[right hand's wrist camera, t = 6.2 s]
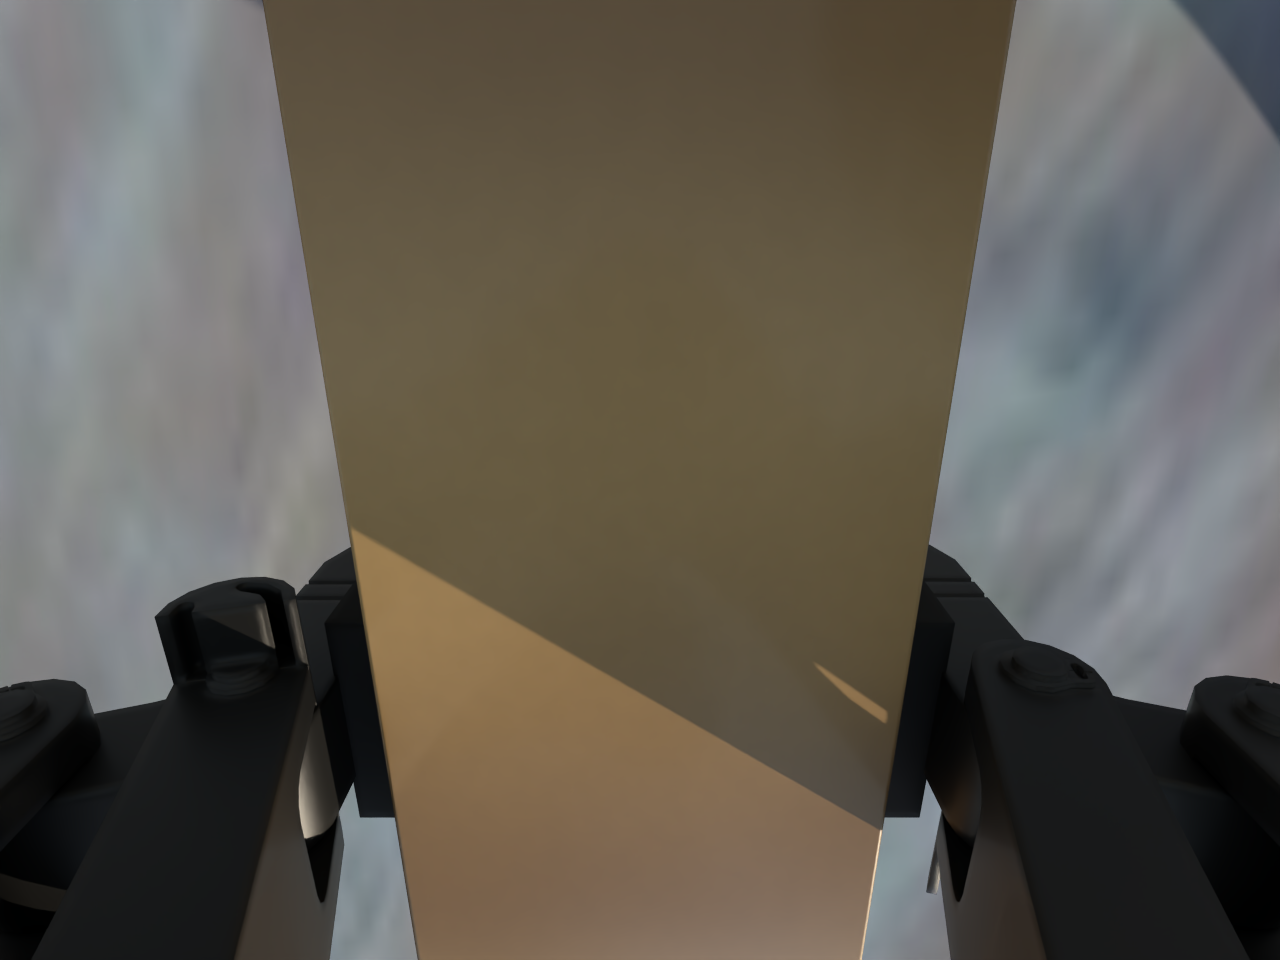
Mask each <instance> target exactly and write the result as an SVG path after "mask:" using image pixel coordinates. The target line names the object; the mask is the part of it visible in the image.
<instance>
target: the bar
mask: <svg viewBox="0 0 1280 960" xmlns="http://www.w3.org/2000/svg"><path fill="white" fill-rule="evenodd" d="M263 5H264V12H265V18H266V24H267V30H268V36H269V43H270V49H271V55H272V61H273V67H274V73H275V80H276V86H277V92H278V98H279V104H280V111H281V117H282V123H283V129H284V135H285V141H286V148H287V154H288V160H289V166H290V172H291V179H292V185H293V191H294V197H295V203H296V209H297V216H298V222H299V228H300V234H301V240H302V247H303V253H304V259H305V265H306V271H307V277H308V284H309V290H310V296H311V302H312V308H313V315H314V321H315V327H316V333H317V339H318V345H319V352H320V358H321V364H322V370H323V376H324V383H325V389H326V395H327V401H328V407H329V413H330V420H331V426H332V432H333V438H334V444H335V451H336V457H337V463H338V469H339V475H340V481H341V488H342V494H343V500H344V506H345V512H346V519H347V525H348V531H349V537H350V543H351V549H352V556H353V562H354V568H355V574H356V580H357V587H358V593H359V599H360V605H361V611H362V617H363V624H364V630H365V636H366V642H367V648H368V655H369V661H370V667H371V673H372V679H373V685H374V692H375V698H376V704H377V710H378V716H379V723H380V729H381V735H382V741H383V747H384V753H385V760H386V766H387V772H388V778H389V784H390V791H391V797H392V803H393V809H394V815H395V821H396V828H397V834H398V840H399V846H400V852H401V859H402V865H403V871H404V877H405V883H406V889H407V896H408V902H409V908H410V914H411V920H412V927H413V933H414V939H415V945H416V951H417V957H418V960H862V953H863V947H864V941H865V935H866V929H867V922H868V916H869V910H870V904H871V898H872V891H873V885H874V879H875V873H876V867H877V860H878V854H879V848H880V842H881V836H882V829H883V823H884V817H885V811H886V805H887V798H888V792H889V786H890V780H891V774H892V767H893V761H894V755H895V749H896V743H897V737H898V730H899V724H900V718H901V712H902V706H903V699H904V693H905V687H906V681H907V675H908V668H909V662H910V656H911V650H912V644H913V637H914V631H915V625H916V619H917V613H918V606H919V600H920V594H921V588H922V582H923V575H924V569H925V563H926V557H927V551H928V544H929V538H930V532H931V526H932V520H933V513H934V507H935V501H936V495H937V489H938V483H939V476H940V470H941V464H942V458H943V452H944V445H945V439H946V433H947V427H948V421H949V414H950V408H951V402H952V396H953V390H954V383H955V377H956V371H957V365H958V359H959V352H960V346H961V340H962V334H963V328H964V321H965V315H966V309H967V303H968V297H969V290H970V284H971V278H972V272H973V266H974V259H975V253H976V247H977V241H978V235H979V229H980V222H981V216H982V210H983V204H984V198H985V191H986V185H987V179H988V173H989V167H990V160H991V154H992V148H993V142H994V136H995V129H996V123H997V117H998V111H999V105H1000V98H1001V92H1002V86H1003V80H1004V74H1005V67H1006V61H1007V55H1008V49H1009V43H1010V36H1011V30H1012V24H1013V18H1014V12H1015V5H1016V0H263Z"/></svg>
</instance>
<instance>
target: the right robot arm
mask: <svg viewBox="0 0 1280 960" xmlns="http://www.w3.org/2000/svg"><path fill="white" fill-rule="evenodd" d="M155 620H156V624H157V627H158V631H159V634H160V638H161V641H162V645H163V648H164V652H165V655H166V659H167V662H168V666H169V669H170V673H171V677H172V680H173V684H174V685H173V687H172V689H171V691H170V693H169V695H168V696H167V698H166V699H165V700H161V701H157V702H153V703H148V704H143V705H138V706H133V707H127V708H122V709H117V710H112V711H107V712H102V713H96V714H94V712H93V709H92V706H91V703H90V701H89V698H88V695H87V692H86V689H84V688H83V687H81V686H80V685H79V684H77V683H76V682H74V681H66V680H58V679H50V680H41V681H33V682H22V683H18V684H13V685H11V687H8V686H6V687H3V688H0V960H329V959H330V951H331V944H332V936H333V928H334V920H335V912H336V905H337V897H338V889H339V881H340V874H341V866H342V858H343V850H344V839H343V832H342V826H341V821H340V816H339V810H340V808H341V806H342V804H343V802H344V800H345V798H346V796H347V794H348V792H349V790H350V788H351V786H352V784H353V782H354V787H355V793H356V798H357V804H358V809H359V814H360V817H395V815H394V809H393V803H392V797H391V791H390V784H389V778H388V772H387V766H386V760H385V753H384V747H383V741H382V735H381V729H380V723H379V716H378V710H377V704H376V698H375V692H374V685H373V679H372V673H371V667H370V661H369V655H368V648H367V642H366V636H365V630H364V624H363V617H362V611H361V605H360V599H359V593H358V587H357V580H356V574H355V568H354V562H353V556H352V549H351V547H350V548H348V549H346V550H345V551H343V552H341V553H340V554H338V555H336V556H335V557H333V558H331V559H329V560H328V561H326V562H324V564H323V565H322V566H321V567H320V568H319V569H318V571H317V572H316V573H315V574H314V575H313V576H312V578H311V579H310V580H309V584H306V585H305V586H304V587H303V588H302V589H301V591H300V592H299V593H298V594H297V595H296V594H295V589H294V588H293V587H292V586H290V585H289V584H288V583H286V582H285V581H283V580H278V579H273V578H268V577H248V578H237V579H232V580H227V581H222V582H217V583H213V584H210V585H207V586H205V587H202V588H199V589H196V590H193V591H190V592H188V593H186V594H185V595H183V596H181V597H179V598H177V599H176V600H174V601H172V602H170V603H169V604H167V605H166V606H165V607H164V608H163V609H162V610H161V611H160V612H159V613H158V614H157V615H156V616H155ZM926 779H927V781H928V783H929V785H930V787H931V789H932V791H933V793H934V795H935V797H936V799H937V801H938V803H939V805H940V807H941V809H942V811H941V816H940V821H939V826H938V831H937V836H936V842H935V847H934V852H933V857H932V862H931V867H930V872H929V877H928V884H927V891H926V892H927V893H932V894H937V889H938V884H939V879H940V880H941V887H942V895H943V903H944V911H945V918H946V926H947V934H948V942H949V949H950V957H951V960H1280V684H1277V683H1274V682H1273V684H1271V683H1269V681H1266V680H1261V679H1256V678H1244V677H1235V676H1218V677H1210V678H1205V679H1204V680H1203V681H1201V682H1200V683H1198V684H1197V685H1196V686H1195V687H1194V690H1193V693H1192V696H1191V698H1190V701H1189V704H1188V707H1187V710H1180V709H1175V708H1170V707H1165V706H1160V705H1154V704H1149V703H1144V702H1139V701H1134V700H1128V699H1124V698H1120V697H1116V696H1113V695H1112V693H1111V691H1110V689H1109V687H1108V685H1107V684H1106V682H1105V681H1104V680H1103V679H1102V678H1101V676H1100V675H1099V674H1098V673H1097V672H1096V671H1095V669H1094V668H1092V667H1091V666H1089V665H1088V664H1086V663H1085V662H1083V661H1082V660H1080V659H1079V658H1077V657H1076V656H1074V655H1072V654H1069V653H1067V652H1064V651H1062V650H1060V649H1057V648H1055V647H1052V646H1050V645H1046V644H1041V643H1037V642H1032V641H1028V640H1024V639H1023V638H1022V637H1021V636H1020V634H1019V633H1018V632H1017V631H1016V630H1015V629H1014V627H1013V626H1012V625H1011V624H1010V623H1009V622H1008V620H1007V619H1006V618H1005V617H1004V616H1003V615H1002V613H1001V612H1000V611H999V610H998V609H997V608H996V606H995V605H994V604H993V603H992V602H991V601H990V600H989V598H988V597H984V593H983V591H982V590H981V589H980V588H979V587H978V586H977V584H976V583H975V582H971V577H970V576H969V575H968V574H967V573H966V572H965V570H964V569H963V568H962V567H961V566H960V565H959V564H958V562H957V561H956V560H955V559H953V558H951V557H950V556H948V555H946V554H945V553H943V552H941V551H939V550H938V549H936V548H934V547H933V546H931V545H929V544H928V551H927V557H926V563H925V569H924V575H923V582H922V588H921V594H920V600H919V606H918V613H917V619H916V625H915V631H914V637H913V644H912V650H911V656H910V662H909V668H908V675H907V681H906V687H905V693H904V699H903V706H902V712H901V718H900V724H899V730H898V737H897V743H896V749H895V755H894V761H893V767H892V774H891V780H890V786H889V792H888V798H887V805H886V811H885V817H920V812H921V806H922V801H923V795H924V790H925V785H926Z"/></svg>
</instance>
